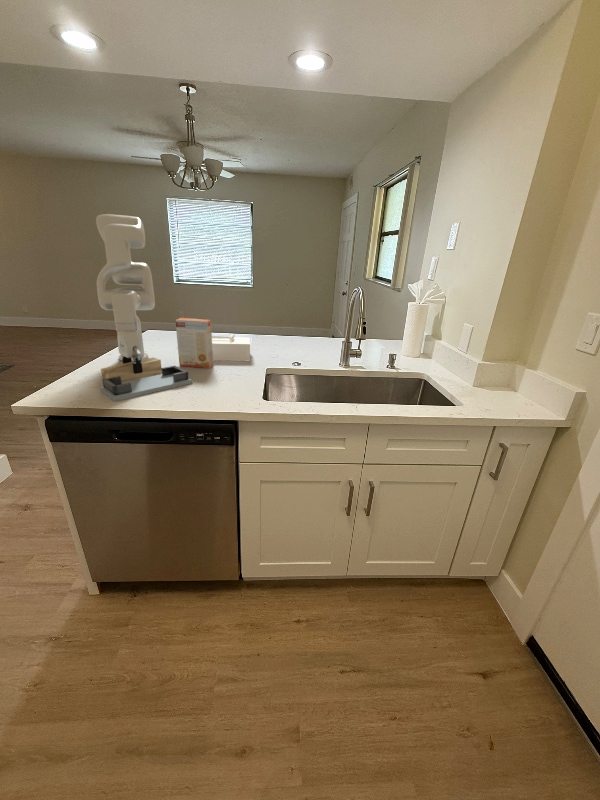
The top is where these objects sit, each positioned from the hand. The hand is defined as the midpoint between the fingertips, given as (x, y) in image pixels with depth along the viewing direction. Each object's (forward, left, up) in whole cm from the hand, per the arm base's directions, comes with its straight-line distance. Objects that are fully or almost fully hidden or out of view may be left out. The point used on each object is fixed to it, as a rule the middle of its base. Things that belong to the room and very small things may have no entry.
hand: (133, 370), depth 134 cm
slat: (-1, 0, -4) cm, 4 cm away
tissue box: (-6, +47, -4) cm, 48 cm away
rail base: (+12, 0, -3) cm, 13 cm away
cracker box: (-1, +28, -4) cm, 29 cm away
